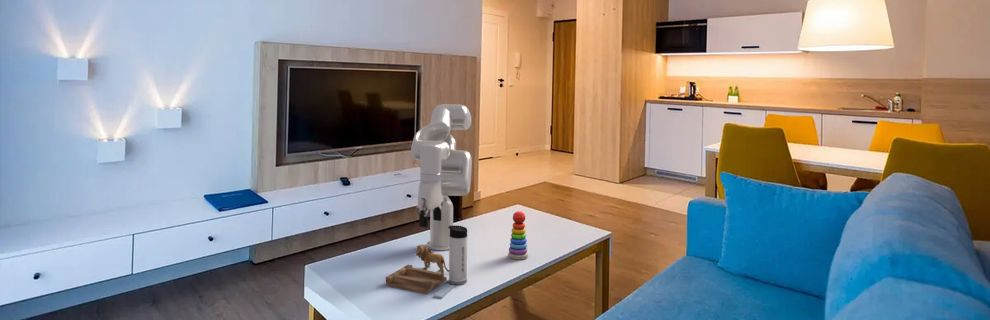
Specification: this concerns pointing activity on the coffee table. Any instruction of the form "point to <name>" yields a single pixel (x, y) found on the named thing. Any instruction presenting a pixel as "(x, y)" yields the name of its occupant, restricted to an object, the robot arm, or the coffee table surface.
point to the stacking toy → (518, 237)
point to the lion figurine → (430, 257)
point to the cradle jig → (415, 279)
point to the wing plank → (443, 291)
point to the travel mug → (458, 255)
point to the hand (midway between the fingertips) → (430, 223)
